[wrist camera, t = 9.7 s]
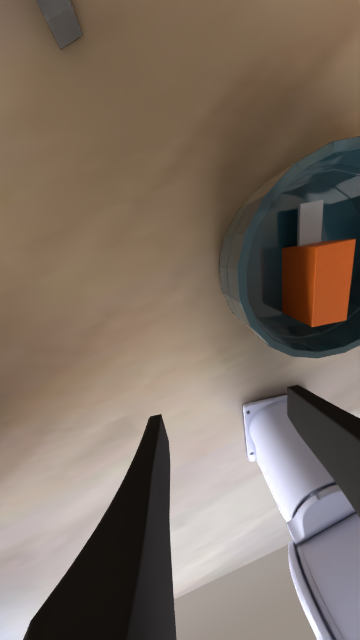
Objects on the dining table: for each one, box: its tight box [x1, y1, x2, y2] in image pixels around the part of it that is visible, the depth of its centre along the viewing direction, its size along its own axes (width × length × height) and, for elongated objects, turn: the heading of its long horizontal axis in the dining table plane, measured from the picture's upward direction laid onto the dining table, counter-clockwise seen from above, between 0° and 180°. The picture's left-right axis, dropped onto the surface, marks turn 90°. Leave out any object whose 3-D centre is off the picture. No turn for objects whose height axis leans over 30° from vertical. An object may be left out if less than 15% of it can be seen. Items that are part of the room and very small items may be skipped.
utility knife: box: [282, 200, 356, 327], centre depth 15 cm, size 9×3×4 cm, turn 10°
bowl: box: [219, 136, 360, 358], centre depth 15 cm, size 14×14×5 cm
